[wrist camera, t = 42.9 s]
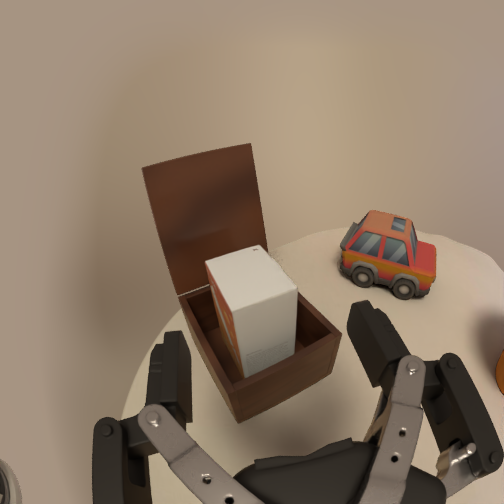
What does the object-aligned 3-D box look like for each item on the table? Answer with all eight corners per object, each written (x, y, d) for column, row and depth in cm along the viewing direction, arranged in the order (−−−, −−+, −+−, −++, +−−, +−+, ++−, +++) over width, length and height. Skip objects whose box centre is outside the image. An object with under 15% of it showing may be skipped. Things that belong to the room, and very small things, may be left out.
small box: (221, 340, 34) (203, 259, 27) (265, 324, 36) (260, 242, 29) (245, 388, 28) (230, 311, 21) (295, 367, 30) (300, 285, 23)
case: (331, 373, 30) (342, 333, 25) (238, 423, 25) (227, 394, 21) (270, 304, 41) (268, 263, 36) (192, 337, 36) (177, 296, 32)
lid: (251, 143, 30) (248, 143, 30) (141, 167, 25) (141, 167, 26) (269, 261, 36) (266, 259, 36) (177, 295, 31) (176, 292, 32)
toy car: (426, 307, 36) (446, 255, 30) (333, 279, 44) (339, 226, 39) (429, 268, 44) (443, 222, 38) (351, 246, 52) (357, 200, 46)
